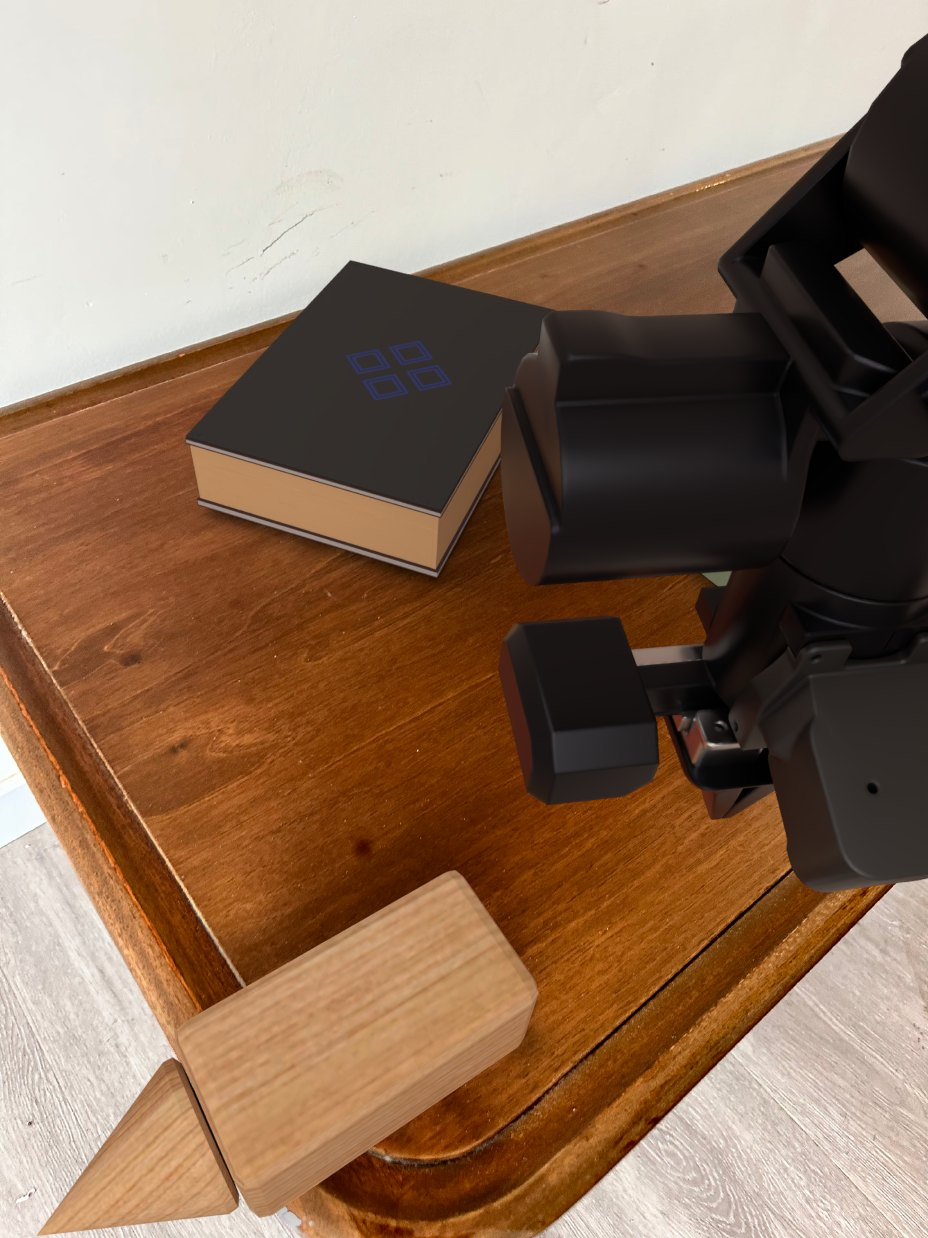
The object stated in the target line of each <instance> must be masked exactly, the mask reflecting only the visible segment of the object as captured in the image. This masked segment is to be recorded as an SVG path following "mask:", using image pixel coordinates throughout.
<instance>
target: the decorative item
mask: <svg viewBox="0 0 928 1238" xmlns="http://www.w3.org/2000/svg"><path fill="white" fill-rule="evenodd" d="M539 994H540V993H539V988H538V984H537V981H536V979H535V978H534V976H533V975H532V973H531V972H530V970H529V969H528V967H527V966H526V965H525V963H524V961H523V960H522V958H521V957H520V956H519V954H518V953H517V951H516V950H515V948H514V947H513V946H512V944H511V943H510V941H509V940H508V938H507V937H506V935H505V934H504V932H503V931H502V930H501V928H500V927H499V924H497V922H496V921H495V920H494V918H493V916H492V915H491V914H490V913H489V911H488V909H487V908H486V906H485V905H484V904H483V902H482V901H481V899H480V897H478V895H477V893H476V892H475V890H474V889H473V888H472V886H471V885H470V884H469V881H468V879H466V878H465V877H464V875H462V874H461V873H459V871H457V870H455V869H454V870H449V871H446V872H444V873H442V874H440V875H438V876H437V877H435V878H433V879H432V880H430V881H428V882H426V883H424V884H423V885H420V886H419V887H417V888H416V889H414V890H412V891H411V892H409V893H407V894H405V895H404V896H402V897H400V898H398V899H396V900H395V901H393V902H391V903H390V904H387V905H386V906H385V907H383V908H381V909H380V910H377V911H376V912H374V913H372V914H370V915H369V916H367V917H365V918H363V919H361V920H359V921H358V922H356V923H355V924H353V925H351V926H350V927H348V928H346V929H344V930H342V931H341V932H339V933H337V934H336V935H334V936H331V937H330V938H329V939H327V940H325V941H324V942H322V943H319V944H318V945H316V946H315V947H313V948H311V949H309V950H307V951H306V952H304V953H303V954H301V955H299V956H297V957H295V958H294V959H292V960H290V961H288V962H287V963H284V964H283V965H281V966H280V967H278V968H276V969H275V970H272V971H271V972H269V973H268V974H267V973H266V975H264V976H262V977H260V978H258V979H257V980H254V981H253V982H252V983H250V984H248V985H246V986H244V987H242V988H241V989H239V990H238V991H236V992H234V993H232V994H230V995H229V996H228V997H225V998H224V999H222V1000H220V1001H218V1002H217V1003H214V1004H213V1005H211V1006H210V1007H208V1008H207V1009H205V1010H203V1011H201V1012H199V1013H198V1014H195V1015H194V1016H192V1017H191V1018H188V1019H187V1020H185V1021H184V1022H183V1023H182V1024H181V1025H180V1026H179V1027H178V1028H177V1029H176V1031H175V1042H174V1044H175V1045H174V1046H175V1049H176V1051H177V1053H178V1056H179V1058H180V1060H181V1061H179V1060H178V1059H177V1058H175V1057H170V1058H167V1059H166V1060H164V1061H162V1063H161V1064H160V1065H159V1067H158V1068H157V1070H156V1071H155V1072H154V1074H153V1075H152V1077H151V1078H150V1079H149V1080H148V1082H147V1083H146V1085H145V1086H144V1087H143V1088H142V1090H141V1091H140V1093H139V1094H138V1096H137V1097H136V1098H135V1100H134V1101H133V1103H132V1104H131V1105H130V1107H129V1109H127V1111H126V1112H125V1113H124V1115H123V1116H122V1117H121V1119H120V1121H119V1122H118V1123H117V1124H116V1126H115V1127H114V1128H113V1130H112V1131H111V1133H110V1134H109V1136H108V1137H107V1138H106V1140H105V1141H104V1143H103V1144H102V1145H101V1146H100V1148H99V1149H98V1150H97V1152H96V1154H95V1155H94V1156H93V1157H92V1158H91V1160H90V1161H89V1163H88V1164H87V1166H86V1167H85V1168H84V1169H83V1171H82V1173H81V1174H80V1175H79V1176H78V1178H77V1179H76V1181H75V1182H74V1184H73V1185H72V1186H71V1187H70V1189H69V1190H68V1192H67V1193H66V1195H65V1196H64V1197H63V1199H62V1200H61V1201H60V1203H59V1204H58V1205H57V1207H55V1209H54V1211H53V1212H52V1214H51V1215H50V1217H48V1219H47V1221H46V1222H45V1223H44V1224H43V1226H42V1228H41V1229H40V1230H39V1231H38V1233H37V1234H36V1236H37V1237H41V1236H50V1235H58V1234H59V1235H60V1234H68V1233H74V1232H85V1231H93V1230H101V1229H110V1228H119V1227H127V1226H138V1225H145V1224H147V1225H148V1224H154V1223H163V1222H164V1223H165V1222H171V1221H180V1220H181V1221H182V1220H188V1219H189V1220H190V1219H198V1218H207V1217H215V1216H225V1215H230V1214H232V1213H233V1212H234V1211H235V1210H238V1208H239V1206H240V1195H241V1197H242V1198H243V1200H244V1202H245V1204H246V1206H247V1208H248V1209H249V1211H251V1212H252V1213H253V1214H254V1215H255V1216H256V1217H258V1219H260V1218H261V1219H262V1218H266V1217H271V1216H273V1215H275V1214H276V1213H279V1211H281V1210H282V1209H284V1208H285V1207H287V1206H288V1205H290V1204H291V1203H293V1202H294V1201H296V1200H297V1199H298V1198H300V1197H302V1195H304V1194H305V1193H307V1192H309V1191H310V1190H312V1189H313V1188H314V1187H316V1186H317V1185H318V1184H320V1183H322V1182H323V1181H325V1180H326V1179H328V1178H329V1177H331V1176H332V1175H333V1174H335V1173H336V1172H338V1171H339V1170H341V1169H343V1168H344V1167H345V1166H347V1165H348V1164H349V1163H351V1162H353V1161H354V1160H355V1159H357V1158H358V1157H359V1156H361V1155H363V1154H364V1153H366V1152H367V1151H368V1150H370V1149H371V1148H373V1147H374V1146H375V1145H377V1144H379V1143H380V1142H381V1141H384V1139H386V1138H388V1137H389V1136H390V1135H392V1134H393V1133H395V1132H396V1131H398V1130H399V1129H400V1128H402V1127H404V1126H405V1125H406V1124H408V1123H409V1122H411V1121H412V1120H414V1119H415V1118H416V1117H418V1116H419V1115H421V1114H423V1113H424V1112H425V1111H427V1110H428V1109H430V1108H431V1107H433V1106H434V1105H436V1104H437V1103H439V1102H440V1101H441V1100H443V1099H444V1098H446V1097H447V1096H448V1095H450V1094H452V1093H453V1092H454V1091H456V1090H457V1089H459V1088H460V1087H461V1086H463V1085H465V1084H466V1083H467V1082H469V1081H471V1080H472V1079H473V1078H475V1077H477V1076H478V1075H479V1074H481V1073H483V1071H485V1070H487V1069H488V1068H489V1067H491V1066H492V1065H494V1064H495V1063H497V1062H498V1061H499V1060H501V1059H503V1058H504V1057H505V1056H507V1055H508V1054H510V1053H511V1052H513V1051H514V1050H516V1049H517V1048H519V1047H520V1045H521V1043H522V1042H523V1040H524V1038H525V1037H526V1034H527V1030H528V1028H529V1025H530V1021H531V1017H532V1015H533V1011H534V1009H535V1005H536V1002H537V999H538V997H539Z"/></svg>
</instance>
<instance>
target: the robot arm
mask: <svg viewBox="0 0 928 1238" xmlns="http://www.w3.org/2000/svg"><path fill="white" fill-rule="evenodd" d="M863 250H865V251H866V252H867V254H869V255H870V256H871V258H872V259H873V260H874V261H875V262H876V263H877V264H878V266H879V267H880V268H881V269H882V270H883V271H884V273H886V275H887V276H888V277H889V278H890V279H891V280H892V281H893V283H894V284H895V285H896V286H897V287H898V288H899V289H900V290H901V291H902V293H903V294H904V295H905V296H906V297H907V298H908V299H909V301H910V302H911V303H912V304H913V305H914V306H915V308H916V309H918V311H919V312H920V313H921V315H923V316H924V318H925V319H924V320H923V319H921V320H920V319H919V320H894V321H884V322H881V320H880V319H879V318H878V317H877V315H876V314H875V313H874V311H873V310H872V309H871V308H870V306H868V304H866V302H865V301H864V300H863V298H862V297H861V296H860V295H859V294H858V292H857V291H856V290H855V288H853V286H852V285H851V283H849V282H848V280H847V279H846V277H845V276H844V275H843V274H842V273H841V272H840V270H839V269H838V268H837V267H836V266H835V265H837V264H839V263H841V262H842V261H844V260H846V259H848V258H850V257H851V256H853V255H855V254H857V253H859V252H860V251H863ZM717 272H718V274H719V276H720V277H721V279H722V280H723V281H724V283H725V284H726V286H727V288H728V289H729V291H730V292H731V294H732V296H733V297H734V298H735V304H734V306H733V309H732V312H724V313H723V312H721V313H694V314H693V313H692V314H691V313H690V314H689V313H688V314H687V313H686V314H661V315H659V314H658V315H627V314H622V313H617V312H613V311H608V310H603V309H568V310H567V309H565V310H556V311H552V312H550V313H549V314H548V315H547V316H545V317H544V318H543V320H542V327H541V334H540V341H539V349H538V353H528V354H527V355H526V356H525V357H523V358H522V360H521V362H520V364H519V366H518V369H517V371H516V375H515V379H514V383H513V387H506V388H505V391H504V399H503V406H502V420H501V462H500V476H501V477H500V478H501V490H502V501H503V502H502V503H503V510H504V511H503V512H504V517H505V525H506V531H507V535H508V541H509V546H510V549H511V552H512V553H511V554H512V556H513V560H514V564H515V566H516V569H517V571H518V573H519V575H520V577H521V578H522V579H523V581H524V583H525V584H526V585H529V586H531V587H539V586H541V587H542V586H551V585H553V586H555V585H566V584H567V585H568V584H580V583H581V584H582V583H592V582H593V583H594V582H606V581H619V580H633V579H646V578H647V579H648V578H660V577H672V576H674V577H675V576H686V575H687V576H688V575H700V574H701V573H714V572H728V571H732V572H731V575H730V577H729V580H728V582H727V585H726V586H717V585H715V586H705V587H704V586H703V587H701V589H700V591H699V594H698V597H697V600H696V603H695V606H694V609H695V611H696V614H697V616H698V619H699V621H700V623H701V625H702V628H703V630H704V632H705V635H706V637H705V639H704V642H703V643H693V644H681V645H671V646H670V645H669V646H659V647H658V646H657V647H648V648H646V647H645V648H635V649H634V648H633V649H632V648H631V644H630V641H629V639H628V637H627V634H626V631H625V628H624V626H623V623H622V619H621V617H620V616H616V615H609V614H607V615H606V614H605V615H596V616H595V615H594V616H583V617H582V616H581V617H571V618H559V619H546V620H545V619H544V620H532V621H524V622H523V621H522V622H514V624H513V625H512V627H511V628H510V629H509V631H508V632H507V634H506V635H505V636H504V637H503V638H502V641H501V645H500V653H499V658H498V659H499V660H498V667H497V672H498V675H499V680H500V684H501V689H502V693H503V697H504V701H505V705H506V709H507V715H508V718H509V722H510V728H511V731H512V736H513V740H514V743H515V747H516V751H517V756H518V760H519V765H520V769H521V773H522V778H523V781H524V786H525V790H526V793H527V794H529V795H530V796H532V797H534V798H535V799H537V800H538V801H540V802H542V803H543V804H544V805H546V806H552V805H554V806H555V805H563V804H571V803H572V804H573V803H580V802H581V803H582V802H589V801H590V802H591V801H598V800H607V799H608V800H609V799H616V798H624V797H625V798H626V796H628V795H630V794H632V793H635V792H636V791H638V790H639V789H641V788H643V787H646V786H647V785H648V784H650V783H652V782H653V781H654V778H655V776H656V774H657V771H658V768H659V766H660V747H659V745H660V744H659V729H658V726H659V725H658V719H657V718H660V717H662V718H663V720H664V724H665V726H666V728H667V731H668V734H669V737H670V739H671V742H672V745H673V748H674V750H675V753H676V756H677V759H678V761H679V764H680V766H681V770H682V773H683V774H684V776H685V778H686V780H687V781H688V782H689V783H690V784H691V785H692V786H693V787H695V788H697V789H699V790H701V794H702V799H703V804H704V805H705V808H706V811H707V813H708V816H709V818H710V820H711V821H716V820H725V819H731V818H733V817H735V816H736V815H738V814H739V813H741V812H743V811H744V810H746V809H747V808H749V807H751V806H752V805H755V804H756V803H757V802H760V800H762V799H764V798H765V797H767V796H769V795H770V794H772V793H775V796H776V800H777V804H778V808H779V813H780V817H781V820H782V826H783V829H784V832H785V837H786V847H785V848H786V855H787V857H788V862H789V864H790V867H791V869H792V871H793V873H794V875H795V877H796V878H797V879H798V880H799V881H800V882H801V883H802V884H803V885H804V886H805V887H807V888H809V889H811V890H812V891H816V892H819V893H835V892H842V891H848V890H857V889H863V888H871V887H878V886H887V885H894V884H901V883H911V882H917V881H918V882H919V881H923V880H928V32H927V33H926V34H925V35H923V36H922V37H921V38H919V39H918V40H917V41H915V42H913V44H912V45H910V46H908V49H907V50H906V51H905V52H904V54H903V56H902V57H901V61H900V67H899V69H898V70H897V72H896V73H895V74H894V75H893V77H892V78H891V79H890V80H889V81H888V83H887V84H886V85H885V86H884V87H883V89H882V90H881V91H880V92H879V94H878V95H876V97H875V99H873V101H872V102H871V104H870V107H868V110H867V111H866V113H865V114H864V115H863V116H861V118H860V119H859V120H857V122H856V123H854V125H853V126H852V127H851V128H849V129H848V131H847V132H845V133H844V135H843V136H842V137H840V138H839V139H838V140H837V141H836V142H835V143H834V144H833V146H831V147H830V148H829V149H828V150H827V151H826V153H824V154H823V155H822V156H821V157H820V158H819V159H818V160H817V161H816V162H815V163H814V164H813V165H812V166H811V167H810V168H809V169H808V170H807V171H806V172H805V173H804V174H803V175H802V176H801V177H800V178H799V179H798V180H797V181H796V182H795V183H794V184H793V185H792V186H791V187H790V188H789V189H788V190H787V191H786V192H785V193H784V194H783V195H782V196H780V198H779V199H778V200H777V201H776V202H775V203H773V205H772V206H771V207H770V208H768V210H767V211H765V213H764V214H763V215H761V217H760V218H759V219H758V220H757V221H755V223H753V224H752V225H751V226H750V227H749V228H748V229H747V230H746V231H745V233H743V235H741V236H740V237H739V238H738V239H737V240H736V241H735V242H734V243H733V244H732V245H731V246H730V247H729V248H728V249H727V250H726V251H725V252H724V253H723V254H722V255H721V257H719V260H718V262H717ZM701 575H702V574H701Z"/></svg>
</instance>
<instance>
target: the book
mask: <svg viewBox="0 0 928 1238" xmlns="http://www.w3.org/2000/svg"><path fill="white" fill-rule="evenodd" d="M552 311H557V309H554V308H549V307H545V306H541V305H537V304H533V303H529V302H524V301H520V300H517V299H512V298H509V297H508V298H507V297H504V296H500V295H497V294H492V293H488V292H484V291H480V290H475V289H472V288H467V287H463V286H458V285H455V284H450V283H446V282H443V281H439V280H434V279H430V278H426V277H422V276H418V275H412V274H409V273H406V272H402V271H397V270H393V269H388V268H386V267H381V266H377V265H373V264H369V263H365V262H364V263H363V262H360V261H357V260H353V259H349V260H348V262H347V263H346V264H345V265H343V267H342V268H341V269H340V270H339V271H338V272H337V273H336V275H334V276H333V278H332V279H330V280H329V282H328V283H327V284H326V285H325V286H324V287H323V288H322V290H320V291H319V293H317V295H316V296H315V297H314V298H313V299H312V300H311V301H310V302H309V303H308V304H307V305H306V306H305V307H304V309H303V310H302V311H300V312H299V314H298V315H297V316H296V317H295V318H294V319H293V320H292V322H290V324H289V325H288V326H287V327H286V328H285V329H284V330H283V331H282V332H281V333H280V334H279V335H278V336H277V337H276V339H274V341H273V342H272V343H271V344H269V346H268V347H267V348H266V349H265V350H264V351H263V353H261V354H260V355H259V357H257V359H256V360H255V361H254V362H253V363H252V364H251V365H250V366H249V367H248V368H247V369H246V370H245V372H243V374H242V375H241V376H239V378H238V379H237V380H236V381H235V382H234V383H233V384H232V386H230V388H229V389H228V390H227V391H226V392H225V393H224V394H223V395H222V396H221V397H220V398H219V399H218V400H217V402H215V403H214V405H212V407H211V408H210V409H209V410H208V411H207V412H206V413H205V414H204V415H203V416H202V418H200V419H199V421H198V422H196V424H195V425H194V426H193V427H192V428H191V429H190V430H189V432H187V433H186V434H185V438H184V440H185V441H186V442H185V445H189V449H190V454H191V460H192V464H193V466H192V467H193V471H194V475H195V481H196V487H197V491H198V497H197V499H196V501H197V503H198V505H197V506H199V507H202V508H206V509H209V510H212V511H215V512H218V513H222V514H224V515H229V516H231V517H235V518H237V519H241V520H244V521H248V522H251V523H255V524H258V525H261V526H263V527H268V528H271V529H274V530H277V531H281V532H284V533H287V534H291V535H294V536H296V537H300V538H304V539H307V540H310V541H313V542H317V543H319V544H322V545H323V544H324V545H326V546H329V547H333V548H336V549H340V550H343V551H346V552H349V553H353V554H356V555H360V556H363V557H366V558H368V559H372V560H376V561H379V562H382V563H386V564H389V565H392V566H396V567H399V568H402V569H405V570H409V571H412V572H415V573H419V574H422V575H425V576H428V577H431V578H435V579H438V578H439V576H440V574H441V572H442V570H443V569H444V567H445V565H446V563H447V562H448V560H449V558H450V556H451V554H452V552H453V551H454V549H455V546H456V545H457V543H458V541H459V539H460V537H461V536H462V534H463V532H464V530H465V528H466V526H467V524H468V523H469V521H470V519H471V517H472V515H473V513H474V511H475V510H476V508H477V506H478V504H479V503H480V501H481V498H482V497H483V495H484V493H485V491H486V490H487V487H488V486H489V484H490V482H491V480H492V478H493V476H494V474H495V473H496V471H497V469H498V468H499V465H501V420H502V406H503V399H504V391H505V388H506V387H513V383H514V379H515V375H516V371H517V369H518V366H519V364H520V362H521V360H522V358H523V357H525V356H526V355H527V354H528V353H538V349H539V341H540V334H541V327H542V320H543V318H544V317H545V316H547V315H548V314H549V313H550V312H552Z"/></svg>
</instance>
